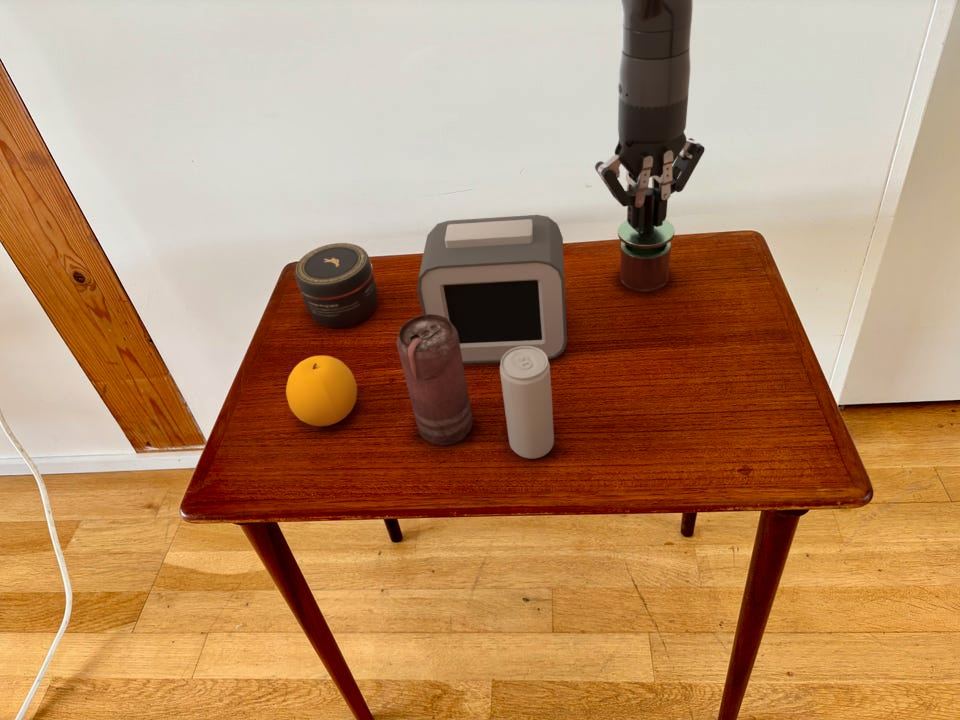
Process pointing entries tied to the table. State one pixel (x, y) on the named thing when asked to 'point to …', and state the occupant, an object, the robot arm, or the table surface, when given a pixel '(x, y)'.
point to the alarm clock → (497, 284)
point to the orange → (321, 390)
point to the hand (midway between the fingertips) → (646, 225)
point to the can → (435, 378)
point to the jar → (337, 284)
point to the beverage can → (527, 401)
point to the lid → (647, 227)
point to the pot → (644, 267)
